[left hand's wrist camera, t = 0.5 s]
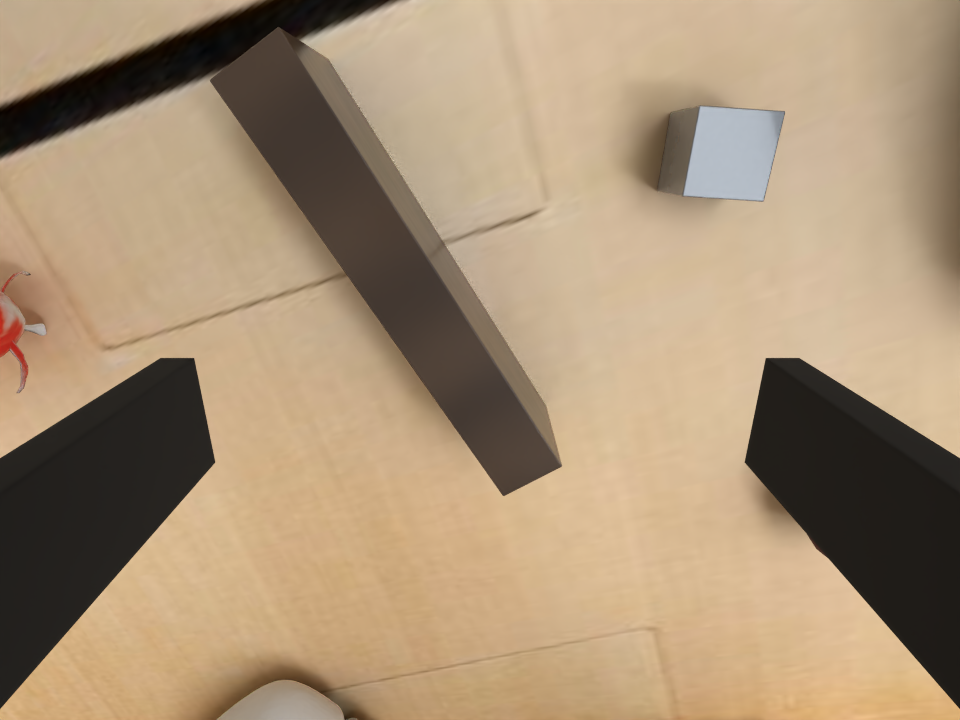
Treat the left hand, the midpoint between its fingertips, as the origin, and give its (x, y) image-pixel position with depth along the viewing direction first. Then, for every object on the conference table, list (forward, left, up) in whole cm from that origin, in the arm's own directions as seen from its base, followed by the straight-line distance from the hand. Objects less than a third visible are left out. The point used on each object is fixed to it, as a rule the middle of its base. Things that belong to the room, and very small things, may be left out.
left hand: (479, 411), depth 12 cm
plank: (+2, -3, -24) cm, 24 cm away
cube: (-10, +11, -24) cm, 28 cm away
